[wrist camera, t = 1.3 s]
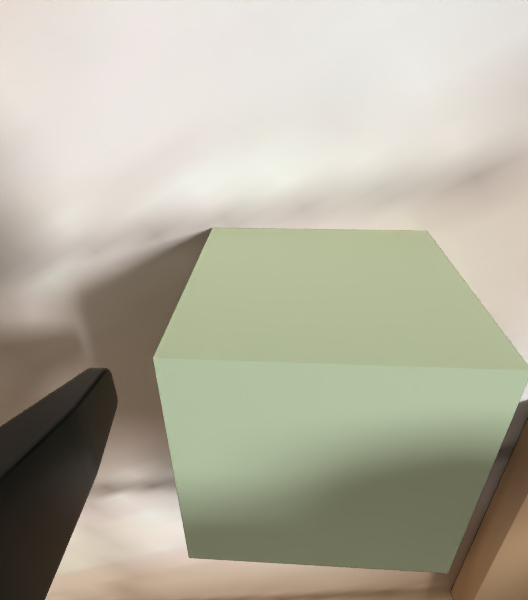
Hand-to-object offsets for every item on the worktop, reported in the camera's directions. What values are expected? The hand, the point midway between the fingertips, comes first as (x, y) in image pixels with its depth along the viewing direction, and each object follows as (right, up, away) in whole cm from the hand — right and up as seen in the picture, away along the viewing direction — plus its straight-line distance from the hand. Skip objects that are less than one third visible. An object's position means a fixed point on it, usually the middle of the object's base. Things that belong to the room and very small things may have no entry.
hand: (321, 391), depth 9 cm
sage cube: (0, +1, +2) cm, 3 cm away
